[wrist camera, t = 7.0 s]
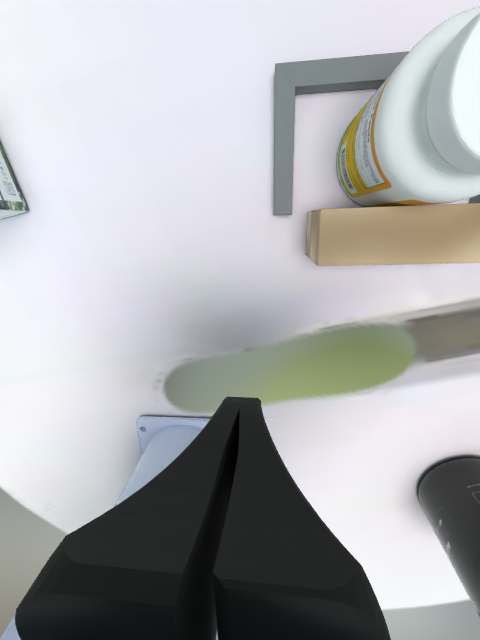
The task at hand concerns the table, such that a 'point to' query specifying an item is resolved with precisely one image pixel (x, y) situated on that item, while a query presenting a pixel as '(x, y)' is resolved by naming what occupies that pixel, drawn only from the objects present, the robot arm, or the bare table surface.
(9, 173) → the syrup box
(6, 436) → the table surface
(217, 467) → the robot arm
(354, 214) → the bar
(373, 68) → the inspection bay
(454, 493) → the supplement bottle
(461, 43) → the supplement bottle
